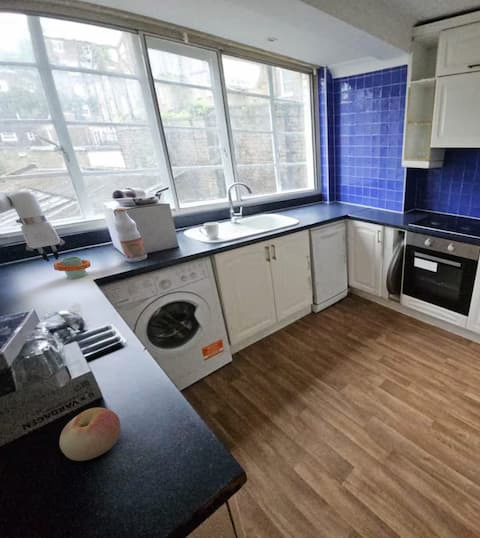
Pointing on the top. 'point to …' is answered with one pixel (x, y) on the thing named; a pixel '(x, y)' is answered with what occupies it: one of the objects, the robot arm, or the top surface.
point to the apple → (90, 434)
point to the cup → (73, 262)
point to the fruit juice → (129, 236)
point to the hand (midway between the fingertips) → (52, 259)
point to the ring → (59, 266)
